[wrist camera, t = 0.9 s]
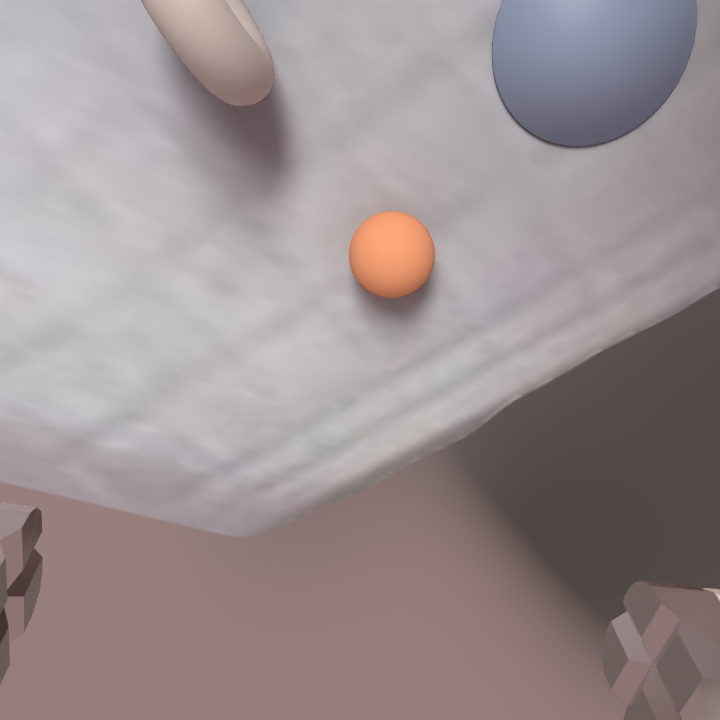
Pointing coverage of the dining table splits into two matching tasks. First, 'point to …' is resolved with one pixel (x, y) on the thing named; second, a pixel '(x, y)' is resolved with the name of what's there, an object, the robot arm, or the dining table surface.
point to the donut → (217, 46)
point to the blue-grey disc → (589, 63)
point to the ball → (391, 254)
